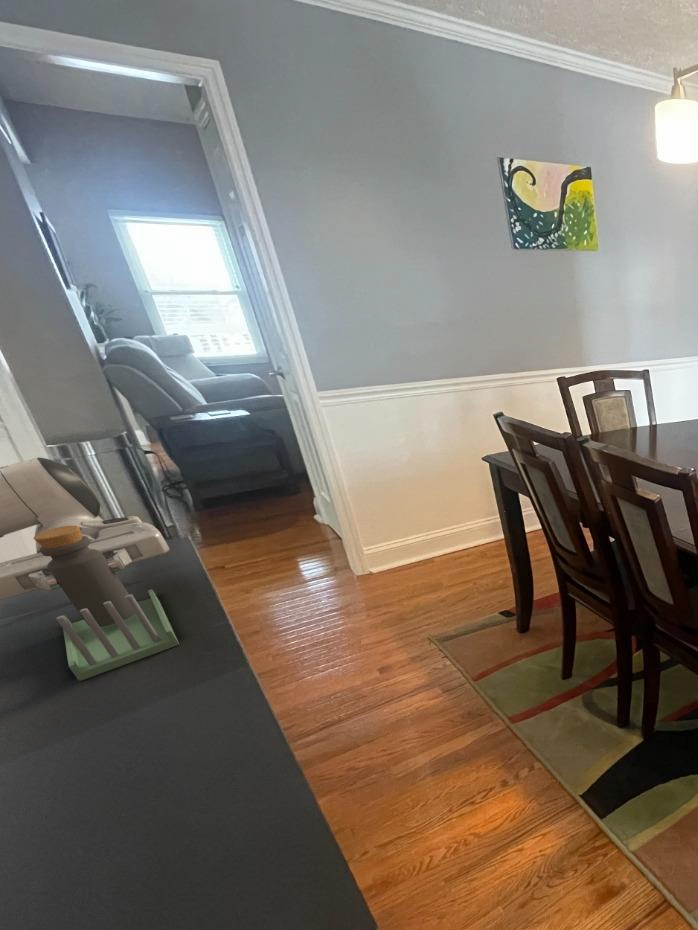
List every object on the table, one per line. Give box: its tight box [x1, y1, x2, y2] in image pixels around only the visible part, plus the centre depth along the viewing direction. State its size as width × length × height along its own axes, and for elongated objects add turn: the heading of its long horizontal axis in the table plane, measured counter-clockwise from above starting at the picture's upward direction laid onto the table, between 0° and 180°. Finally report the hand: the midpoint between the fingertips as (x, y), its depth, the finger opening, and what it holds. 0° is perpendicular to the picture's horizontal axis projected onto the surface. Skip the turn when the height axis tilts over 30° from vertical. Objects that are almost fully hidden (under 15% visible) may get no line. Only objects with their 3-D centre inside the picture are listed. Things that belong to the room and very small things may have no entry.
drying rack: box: [56, 589, 180, 682], centre depth 91 cm, size 11×20×9 cm, turn 48°
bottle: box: [33, 525, 135, 627], centre depth 90 cm, size 6×6×15 cm
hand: (84, 575), depth 89 cm, fingers closed on bottle, 5 cm apart
